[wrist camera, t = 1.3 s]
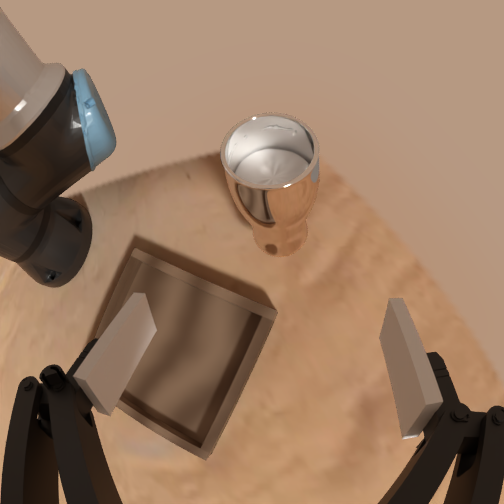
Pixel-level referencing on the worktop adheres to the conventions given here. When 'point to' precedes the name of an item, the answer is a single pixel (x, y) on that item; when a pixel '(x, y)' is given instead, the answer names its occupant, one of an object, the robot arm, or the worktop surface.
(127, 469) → the worktop surface
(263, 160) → the silver metal cup
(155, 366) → the walnut tray
